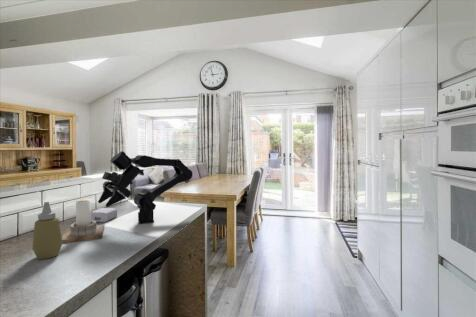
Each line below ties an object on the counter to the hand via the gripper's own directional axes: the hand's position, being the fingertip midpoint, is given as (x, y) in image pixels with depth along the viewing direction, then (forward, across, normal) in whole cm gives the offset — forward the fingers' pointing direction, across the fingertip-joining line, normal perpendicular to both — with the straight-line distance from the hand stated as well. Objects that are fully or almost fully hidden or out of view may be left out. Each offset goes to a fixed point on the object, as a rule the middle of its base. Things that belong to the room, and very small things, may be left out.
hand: (102, 204), depth 109 cm
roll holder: (+13, 0, +3) cm, 14 cm away
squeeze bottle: (+23, +14, -7) cm, 28 cm away
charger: (+2, -20, +14) cm, 25 cm away
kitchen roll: (+12, 0, +2) cm, 13 cm away
